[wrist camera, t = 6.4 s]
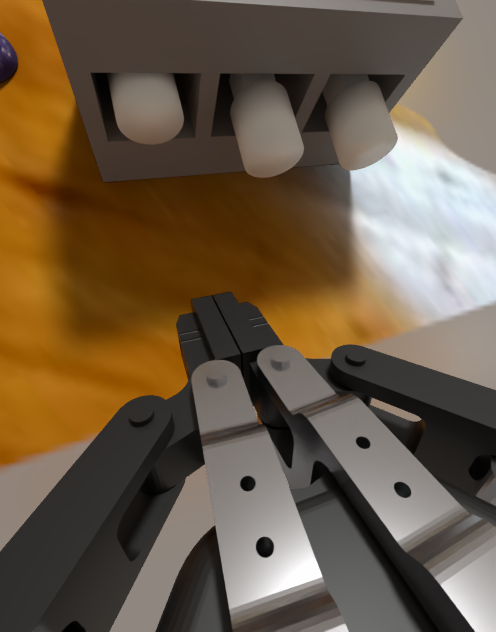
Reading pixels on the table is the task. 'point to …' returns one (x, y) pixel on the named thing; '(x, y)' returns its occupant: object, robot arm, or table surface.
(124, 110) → the button left
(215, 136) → the button box
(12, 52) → the toy lamp
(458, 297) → the table surface
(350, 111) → the button right
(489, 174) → the table surface
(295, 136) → the button middle
